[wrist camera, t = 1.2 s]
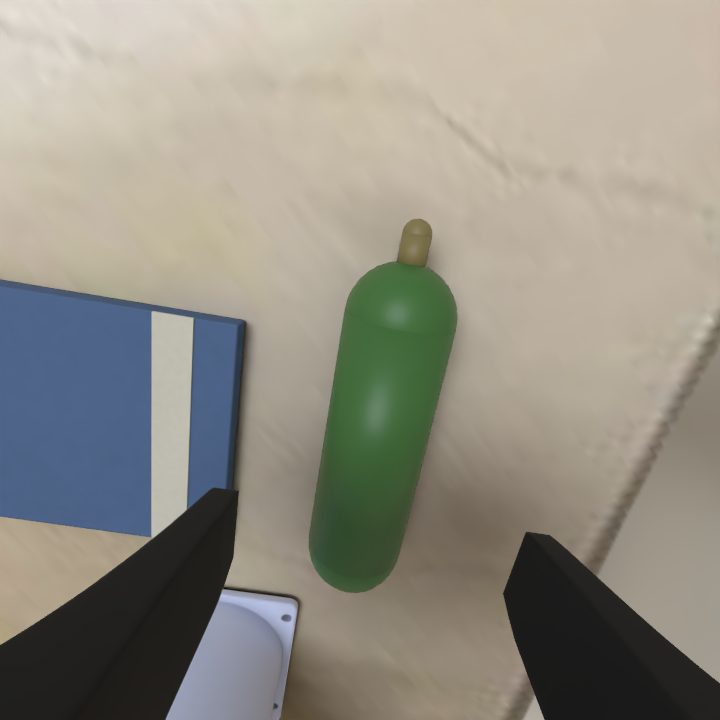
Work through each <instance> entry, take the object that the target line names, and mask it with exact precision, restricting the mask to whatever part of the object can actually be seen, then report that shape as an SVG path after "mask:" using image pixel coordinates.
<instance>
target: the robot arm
mask: <svg viewBox="0 0 720 720" xmlns="http://www.w3.org/2000/svg"><path fill="white" fill-rule="evenodd" d="M238 493H239V491H236V490H229V489H222V488H215V487H213V488H212V489H210V490H209V491H208V492H206V493H205V494H204V495H203V496H202V497H201V498H200V499H199V500H197V501H196V502H195V503H194V504H193V505H192V506H191V507H190V508H188V509H187V510H186V511H185V512H184V513H183V514H181V515H180V516H179V517H178V518H177V519H176V520H174V521H173V522H172V523H171V524H170V525H169V526H167V527H166V528H165V529H164V530H163V531H161V532H160V533H159V534H158V535H156V536H155V537H154V538H153V539H151V540H150V541H149V542H148V543H147V544H145V545H144V546H143V547H142V548H140V549H139V550H138V551H137V552H135V553H134V554H133V555H132V556H130V557H129V558H128V559H126V560H125V561H124V562H122V563H121V564H120V565H118V566H117V567H116V568H114V569H113V570H112V571H110V572H109V573H107V574H106V575H105V576H103V577H102V578H101V579H99V580H98V581H97V582H95V583H94V584H93V585H91V586H90V587H88V588H87V589H86V590H84V591H83V592H81V593H80V594H78V595H77V596H76V597H74V598H73V599H71V600H70V601H68V602H67V603H65V604H64V605H62V606H61V607H59V608H58V609H56V610H55V611H53V612H52V613H50V614H49V615H47V616H46V617H44V618H43V619H41V620H40V621H38V622H37V623H35V624H34V625H32V626H30V627H29V628H27V629H26V630H24V631H22V632H21V633H19V634H18V635H16V636H14V637H13V638H11V639H9V640H8V641H6V642H5V643H3V644H1V645H0V720H279V719H280V717H281V711H282V705H283V698H284V692H285V686H286V680H287V673H288V667H289V661H290V654H291V648H292V642H293V636H294V629H295V623H296V617H297V610H298V603H297V602H296V601H295V600H294V599H292V598H286V597H278V596H271V595H263V594H256V593H248V592H241V591H233V590H225V589H223V587H224V584H225V581H226V578H227V575H228V572H229V569H230V566H231V563H232V560H233V555H234V542H235V530H236V518H237V505H238ZM503 595H504V599H505V603H506V607H507V612H508V616H509V620H510V624H511V627H512V631H513V635H514V639H515V642H516V644H517V647H518V650H519V653H520V655H521V658H522V661H523V664H524V666H525V669H526V672H527V674H528V677H529V680H530V682H531V685H532V688H533V690H534V693H535V696H536V698H537V701H538V703H539V706H540V709H541V711H542V714H543V717H544V719H545V720H720V683H719V682H717V681H716V680H715V679H713V678H712V677H711V676H710V675H709V674H707V673H706V672H705V671H704V670H702V669H701V668H699V666H698V665H696V664H695V663H694V662H693V661H692V660H690V659H689V658H688V657H687V656H686V655H685V654H683V653H682V652H681V651H680V650H679V649H677V648H676V647H675V646H674V645H673V644H671V643H670V642H669V641H668V640H666V638H664V637H663V636H662V635H661V634H660V633H658V632H657V631H656V630H655V629H654V628H653V627H652V626H651V625H649V624H648V623H647V622H646V621H645V620H644V619H643V618H642V617H640V616H639V615H638V614H637V613H636V612H635V611H634V610H633V609H631V608H630V607H629V606H628V605H627V604H626V603H625V602H624V601H623V600H621V599H620V598H619V597H618V596H617V595H616V594H615V593H614V592H613V591H612V590H611V589H609V588H608V587H607V586H606V585H605V584H604V583H603V582H601V580H600V579H598V578H597V577H596V576H595V575H594V574H593V573H592V572H591V571H590V570H589V569H588V568H587V567H585V566H584V565H583V564H582V563H581V562H580V561H579V560H578V559H577V558H576V557H574V556H573V555H572V554H571V553H570V552H569V551H568V550H567V549H565V548H564V547H563V546H562V545H561V544H560V543H559V542H557V541H556V540H555V539H554V538H552V537H551V536H550V535H545V534H538V533H531V532H526V533H525V536H524V539H523V541H522V544H521V547H520V550H519V552H518V555H517V558H516V560H515V563H514V566H513V568H512V571H511V574H510V576H509V579H508V582H507V584H506V587H505V590H504V592H503Z"/></svg>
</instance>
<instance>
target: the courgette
mask: <svg viewBox="0 0 720 720" xmlns="http://www.w3.org/2000/svg"><path fill="white" fill-rule="evenodd" d="M431 239H432V229H431V227H430V225H429V224H428V223H427V222H426V221H424V220H422V219H414V220H411V221H410V222H408V223H407V224H406V225H405V227H404V229H403V232H402V237H401V242H400V247H399V253H398V258H397V261H396V262H389V263H386V264H383V265H380V266H377V267H376V268H374V269H372V270H370V271H369V272H368V273H366V274H365V275H364V276H363V277H362V278H361V279H360V280H359V281H358V282H357V283H356V285H355V286H354V287H353V289H352V291H351V293H350V295H349V297H348V299H347V303H346V307H345V312H344V318H343V324H342V331H341V337H340V343H339V350H338V356H337V362H336V369H335V375H334V381H333V387H332V394H331V400H330V406H329V413H328V419H327V425H326V431H325V438H324V444H323V450H322V457H321V463H320V469H319V476H318V482H317V488H316V494H315V501H314V507H313V513H312V520H311V526H310V532H309V551H310V556H311V560H312V563H313V565H314V567H315V569H316V571H317V572H318V574H319V575H320V576H321V578H322V579H323V580H324V581H325V582H327V583H328V584H329V585H331V586H333V587H334V588H336V589H338V590H341V591H344V592H350V593H358V592H365V591H368V590H371V589H373V588H374V587H376V586H378V585H379V584H381V583H382V582H383V581H384V580H385V579H386V578H387V577H388V576H389V574H390V573H391V572H392V570H393V568H394V566H395V564H396V562H397V559H398V556H399V552H400V548H401V544H402V540H403V536H404V532H405V528H406V524H407V521H408V517H409V513H410V509H411V505H412V501H413V497H414V493H415V489H416V485H417V481H418V477H419V473H420V469H421V465H422V461H423V457H424V453H425V450H426V446H427V442H428V438H429V434H430V430H431V426H432V422H433V418H434V414H435V410H436V406H437V402H438V398H439V394H440V390H441V386H442V383H443V379H444V375H445V371H446V367H447V363H448V359H449V355H450V351H451V347H452V343H453V339H454V335H455V331H456V324H457V307H456V304H455V300H454V297H453V295H452V293H451V291H450V289H449V287H448V285H447V284H446V283H445V282H444V280H443V279H442V278H441V277H440V276H439V275H437V274H436V273H435V272H434V271H433V270H431V269H429V268H427V267H426V262H427V257H428V253H429V248H430V244H431Z"/></svg>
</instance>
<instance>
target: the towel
mask: <svg viewBox="0 0 720 720" xmlns="http://www.w3.org/2000/svg"><path fill="white" fill-rule="evenodd" d="M244 329H245V321H244V320H241V319H235V318H229V317H222V316H216V315H210V314H204V313H198V312H192V311H186V310H180V309H174V308H168V307H162V306H156V305H150V304H144V303H138V302H132V301H126V300H120V299H114V298H108V297H102V296H96V295H90V294H84V293H78V292H72V291H66V290H60V289H54V288H47V287H41V286H35V285H29V284H23V283H17V282H11V281H5V280H0V516H1V517H8V518H15V519H23V520H30V521H37V522H44V523H52V524H59V525H66V526H74V527H81V528H88V529H95V530H103V531H110V532H117V533H124V534H132V535H139V536H146V537H151V539H153V538H154V537H155V536H156V535H158V534H159V533H160V532H161V531H163V530H164V529H165V528H166V527H167V526H169V525H170V524H171V523H172V522H173V521H174V520H176V519H177V518H178V517H179V516H180V515H181V514H183V513H184V512H185V511H186V510H187V509H188V508H190V507H191V506H192V505H193V504H194V503H195V502H196V501H197V500H199V499H200V498H201V497H202V496H203V495H204V494H205V493H206V492H208V491H209V490H210V489H212V488H213V487H215V488H222V489H229V490H232V483H233V470H234V457H235V444H236V431H237V418H238V406H239V393H240V380H241V367H242V354H243V342H244Z"/></svg>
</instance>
